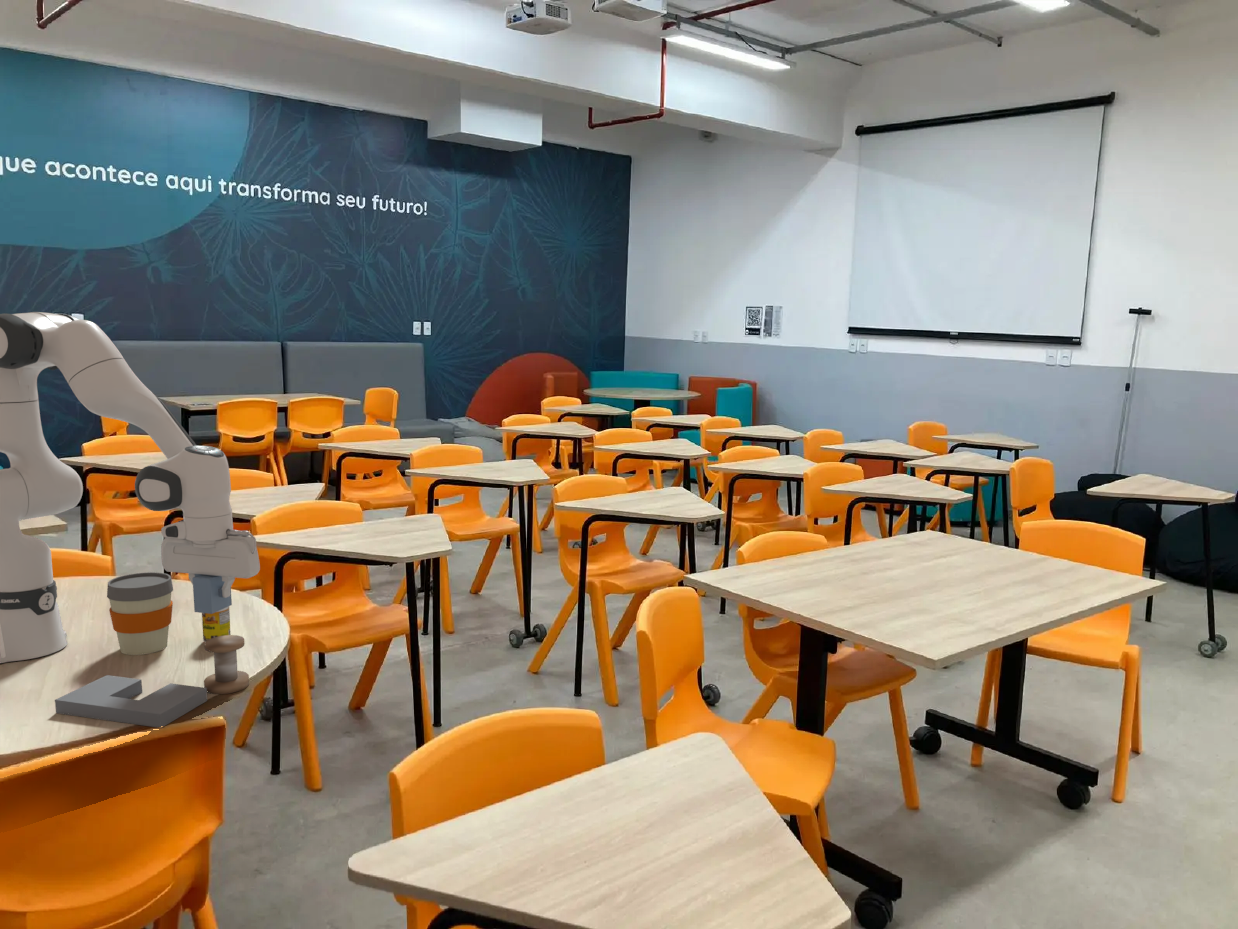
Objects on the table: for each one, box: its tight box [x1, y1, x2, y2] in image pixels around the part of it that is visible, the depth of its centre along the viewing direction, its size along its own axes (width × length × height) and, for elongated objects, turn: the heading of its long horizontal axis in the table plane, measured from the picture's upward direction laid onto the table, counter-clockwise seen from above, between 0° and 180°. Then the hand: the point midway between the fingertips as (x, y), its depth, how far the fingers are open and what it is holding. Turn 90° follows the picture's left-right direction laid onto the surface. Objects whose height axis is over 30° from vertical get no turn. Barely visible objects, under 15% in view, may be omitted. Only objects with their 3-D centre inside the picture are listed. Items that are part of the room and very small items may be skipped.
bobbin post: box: [203, 634, 250, 695], centre depth 177 cm, size 8×8×9 cm
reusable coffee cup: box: [106, 571, 174, 656], centre depth 196 cm, size 12×13×15 cm
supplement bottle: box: [201, 606, 232, 643], centre depth 201 cm, size 6×6×10 cm
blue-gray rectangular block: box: [192, 574, 233, 614], centre depth 183 cm, size 4×6×7 cm, turn 166°
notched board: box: [54, 674, 208, 728], centre depth 167 cm, size 22×12×2 cm, turn 76°
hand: (212, 595), depth 183 cm, fingers closed on blue-gray rectangular block, 4 cm apart
